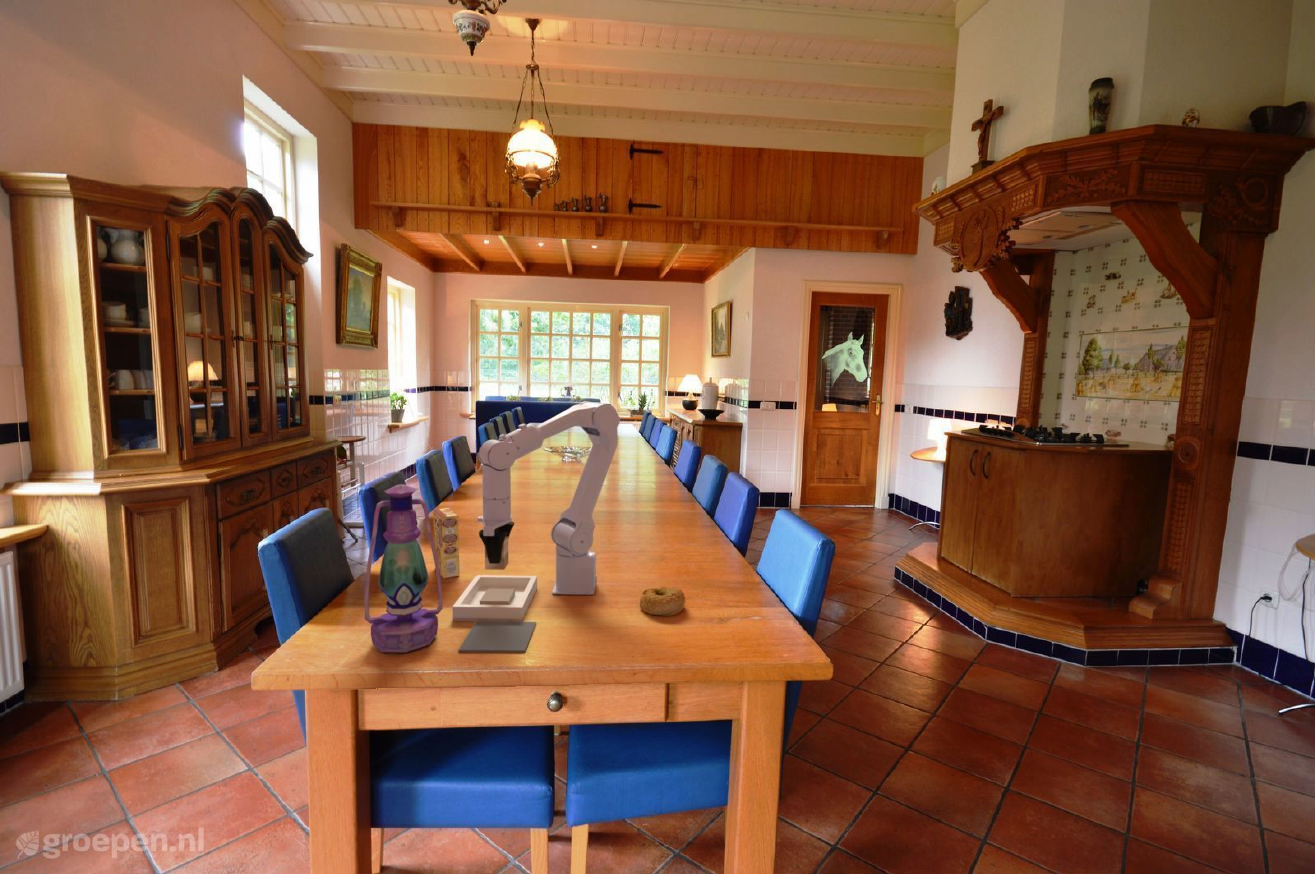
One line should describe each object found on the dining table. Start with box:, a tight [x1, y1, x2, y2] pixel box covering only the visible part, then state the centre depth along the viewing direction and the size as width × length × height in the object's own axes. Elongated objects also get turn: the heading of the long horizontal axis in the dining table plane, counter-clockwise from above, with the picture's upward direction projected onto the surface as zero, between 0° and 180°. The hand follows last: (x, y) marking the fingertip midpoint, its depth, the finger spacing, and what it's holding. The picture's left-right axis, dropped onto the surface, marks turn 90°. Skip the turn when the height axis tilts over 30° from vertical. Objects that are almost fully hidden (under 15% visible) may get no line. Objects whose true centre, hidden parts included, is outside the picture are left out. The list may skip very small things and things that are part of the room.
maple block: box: [484, 537, 509, 571], centre depth 127 cm, size 4×4×6 cm
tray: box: [452, 574, 538, 622], centre depth 130 cm, size 14×18×3 cm
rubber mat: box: [457, 621, 537, 654], centre depth 114 cm, size 12×12×1 cm
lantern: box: [363, 483, 443, 654], centre depth 110 cm, size 13×12×30 cm
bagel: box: [639, 586, 686, 617], centre depth 130 cm, size 10×11×5 cm
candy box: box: [432, 507, 461, 579], centre depth 147 cm, size 9×4×15 cm, turn 33°
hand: (497, 559), depth 127 cm, fingers closed on maple block, 4 cm apart
